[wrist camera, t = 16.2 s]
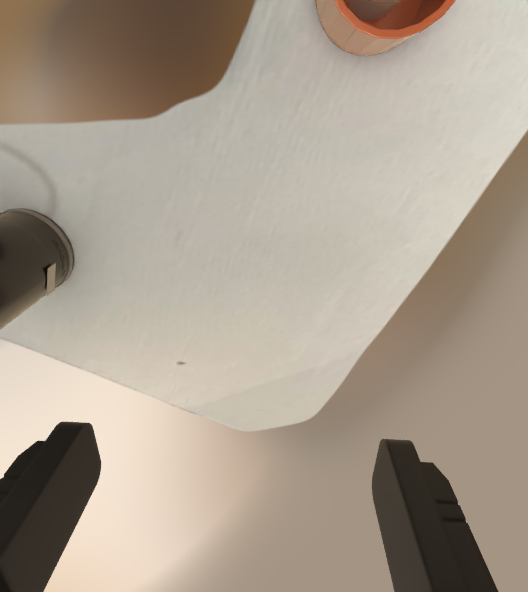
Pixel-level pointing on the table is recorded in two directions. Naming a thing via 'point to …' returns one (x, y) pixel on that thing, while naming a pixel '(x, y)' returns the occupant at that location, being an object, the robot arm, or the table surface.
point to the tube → (371, 8)
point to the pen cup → (378, 24)
